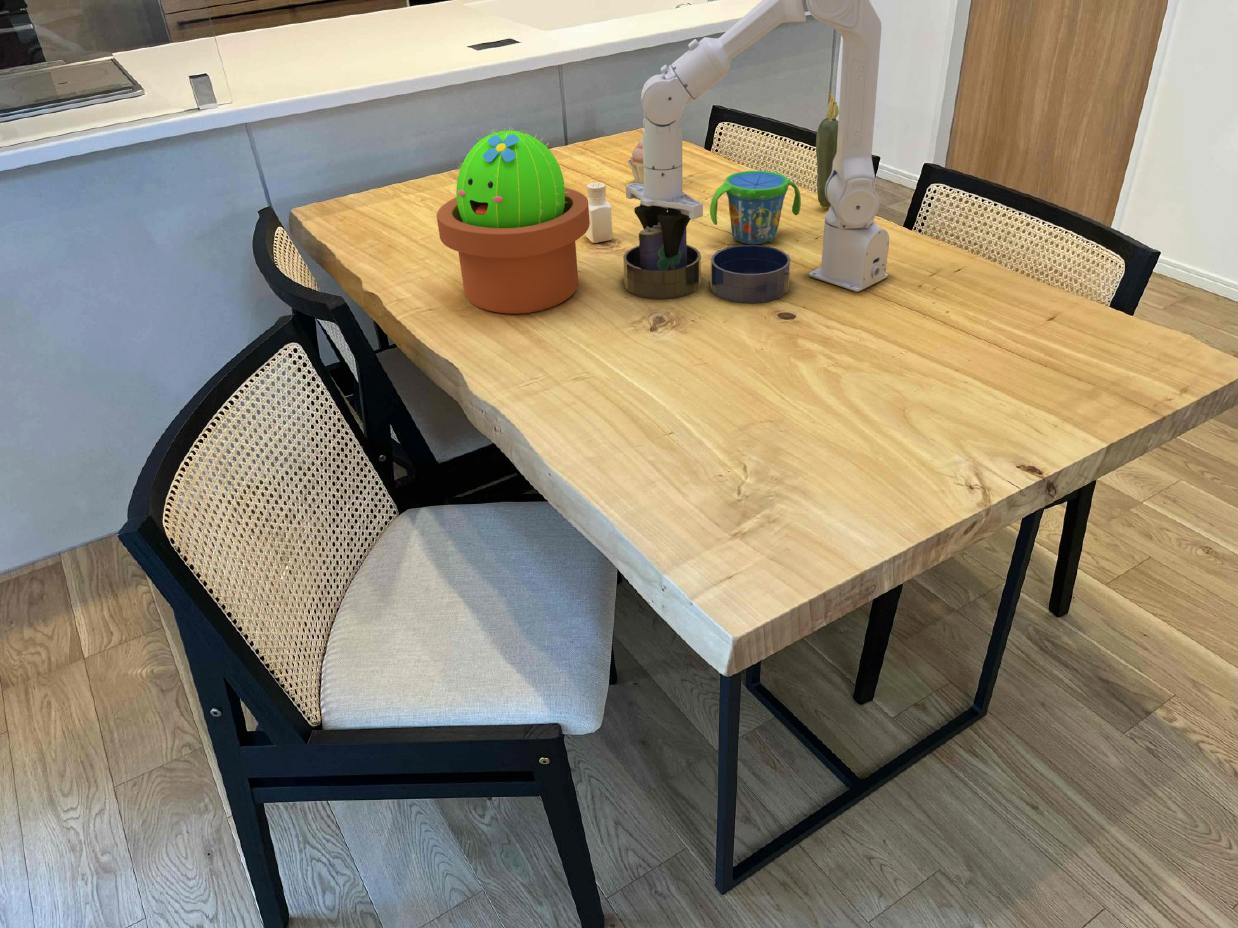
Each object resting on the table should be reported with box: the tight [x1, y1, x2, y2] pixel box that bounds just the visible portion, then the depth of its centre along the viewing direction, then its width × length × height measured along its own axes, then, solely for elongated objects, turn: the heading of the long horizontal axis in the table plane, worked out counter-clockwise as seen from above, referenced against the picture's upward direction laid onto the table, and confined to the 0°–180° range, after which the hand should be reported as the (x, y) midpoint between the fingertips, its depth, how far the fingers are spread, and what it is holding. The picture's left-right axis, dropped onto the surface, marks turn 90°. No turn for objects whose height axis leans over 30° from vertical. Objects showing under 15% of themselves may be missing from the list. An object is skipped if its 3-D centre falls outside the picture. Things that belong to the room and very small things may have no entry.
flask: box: [638, 222, 688, 270], centre depth 143 cm, size 9×3×11 cm, turn 131°
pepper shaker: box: [585, 181, 614, 244], centre depth 161 cm, size 4×4×10 cm
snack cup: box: [709, 170, 802, 245], centre depth 158 cm, size 16×10×10 cm
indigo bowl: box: [709, 244, 792, 304], centre depth 142 cm, size 12×12×4 cm
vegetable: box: [815, 93, 839, 210], centre depth 165 cm, size 4×4×20 cm
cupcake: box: [626, 137, 644, 185], centre depth 184 cm, size 9×9×10 cm
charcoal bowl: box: [622, 244, 702, 300], centre depth 145 cm, size 12×12×4 cm
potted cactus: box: [436, 126, 590, 315], centre depth 139 cm, size 22×22×25 cm
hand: (664, 253), depth 144 cm, fingers closed on flask, 3 cm apart
